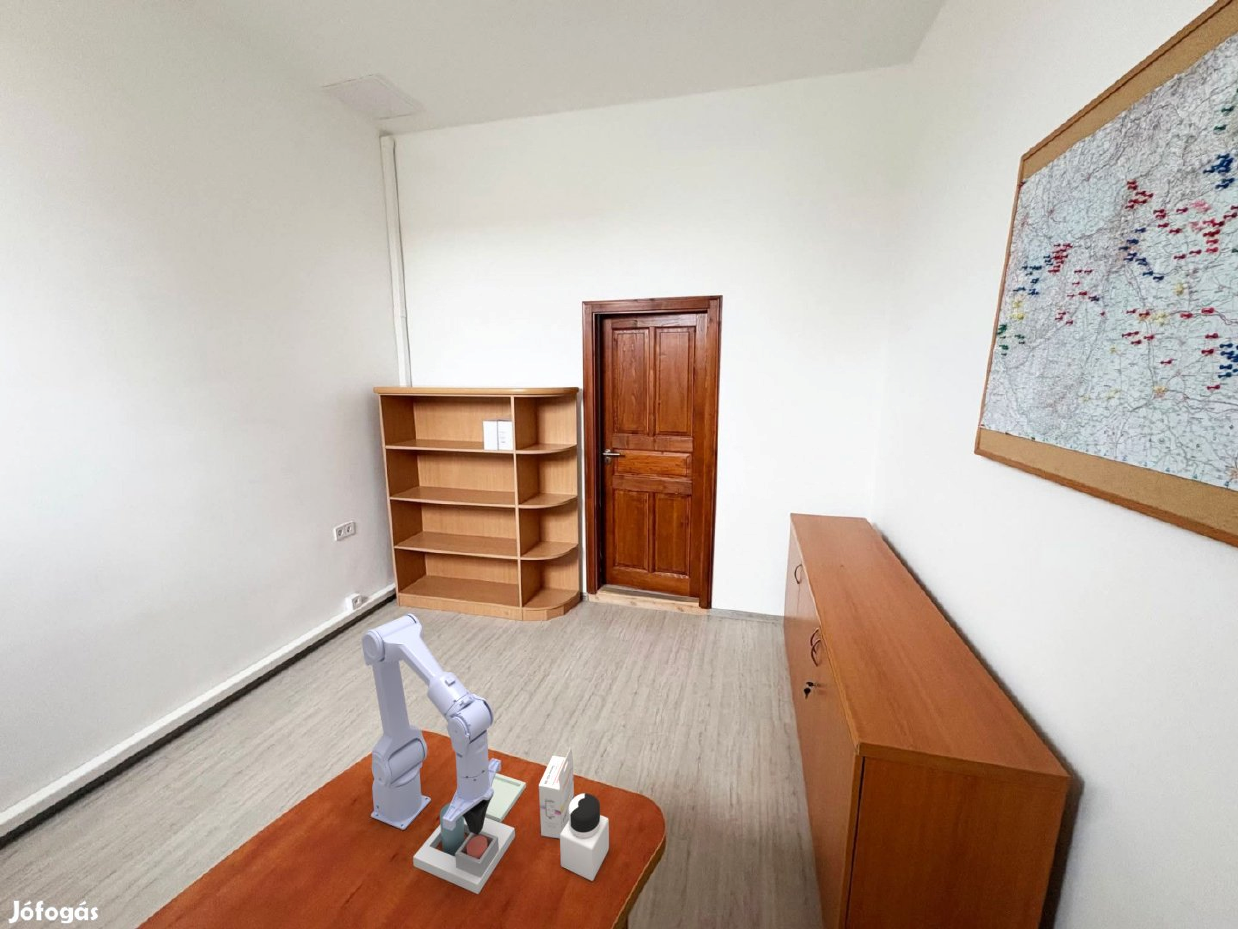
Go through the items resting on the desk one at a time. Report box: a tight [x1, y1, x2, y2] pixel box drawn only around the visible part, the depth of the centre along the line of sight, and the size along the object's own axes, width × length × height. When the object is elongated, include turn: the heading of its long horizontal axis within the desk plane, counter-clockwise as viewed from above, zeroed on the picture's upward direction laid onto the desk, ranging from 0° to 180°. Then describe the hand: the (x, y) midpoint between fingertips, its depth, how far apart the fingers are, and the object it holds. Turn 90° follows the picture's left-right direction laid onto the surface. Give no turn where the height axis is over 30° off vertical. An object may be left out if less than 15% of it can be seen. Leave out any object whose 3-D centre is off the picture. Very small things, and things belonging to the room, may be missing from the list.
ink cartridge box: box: [538, 746, 575, 840], centre depth 98 cm, size 9×5×15 cm, turn 168°
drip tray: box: [485, 772, 527, 824], centre depth 105 cm, size 10×10×1 cm
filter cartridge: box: [439, 802, 466, 857], centre depth 93 cm, size 4×4×8 cm
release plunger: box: [467, 836, 488, 859], centre depth 89 cm, size 4×4×3 cm
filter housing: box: [412, 817, 516, 895], centre depth 92 cm, size 15×12×5 cm
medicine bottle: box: [559, 792, 610, 882], centre depth 90 cm, size 7×7×12 cm
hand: (475, 830), depth 88 cm, fingers closed
